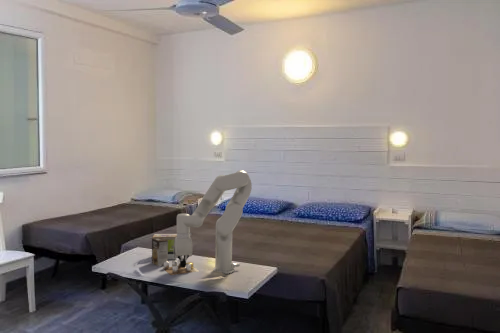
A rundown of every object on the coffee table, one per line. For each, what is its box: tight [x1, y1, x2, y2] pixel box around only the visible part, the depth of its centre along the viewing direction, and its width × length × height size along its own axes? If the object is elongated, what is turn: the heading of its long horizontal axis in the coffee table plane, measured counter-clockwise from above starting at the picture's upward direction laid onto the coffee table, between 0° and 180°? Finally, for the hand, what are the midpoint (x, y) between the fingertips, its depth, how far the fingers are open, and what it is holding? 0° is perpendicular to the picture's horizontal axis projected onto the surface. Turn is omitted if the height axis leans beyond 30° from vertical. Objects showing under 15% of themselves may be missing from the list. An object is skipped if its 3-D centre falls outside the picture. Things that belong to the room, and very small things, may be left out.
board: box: [162, 266, 200, 276], centre depth 244 cm, size 17×15×1 cm
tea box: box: [151, 233, 177, 260], centre depth 273 cm, size 15×10×15 cm
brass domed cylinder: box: [186, 261, 194, 269], centre depth 246 cm, size 4×4×3 cm
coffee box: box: [151, 237, 169, 267], centre depth 255 cm, size 9×6×16 cm
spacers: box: [163, 259, 192, 275], centre depth 243 cm, size 12×14×4 cm
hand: (183, 267), depth 245 cm, fingers closed
